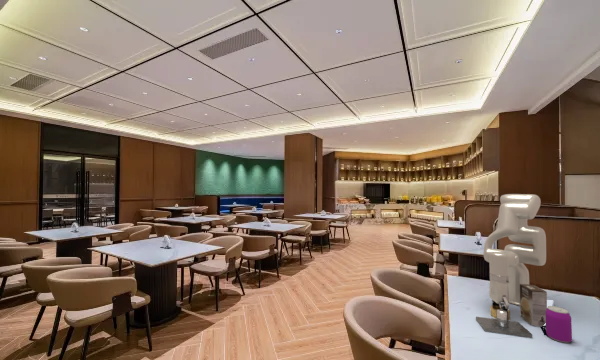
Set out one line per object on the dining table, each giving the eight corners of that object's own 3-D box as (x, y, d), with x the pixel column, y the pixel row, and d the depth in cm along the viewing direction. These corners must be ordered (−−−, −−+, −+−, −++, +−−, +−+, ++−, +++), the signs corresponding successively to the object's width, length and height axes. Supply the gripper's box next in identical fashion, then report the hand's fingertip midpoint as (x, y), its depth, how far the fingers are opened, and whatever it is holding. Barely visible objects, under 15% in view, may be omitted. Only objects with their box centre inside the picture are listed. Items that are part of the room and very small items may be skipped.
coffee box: (519, 316, 128) (518, 283, 128) (534, 318, 126) (533, 284, 127) (532, 326, 119) (531, 290, 119) (548, 327, 117) (547, 291, 118)
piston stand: (518, 325, 119) (518, 308, 119) (532, 338, 108) (531, 319, 109) (475, 319, 124) (475, 303, 124) (485, 331, 113) (484, 313, 114)
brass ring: (505, 314, 129) (505, 306, 130) (512, 321, 123) (512, 312, 123) (488, 312, 131) (488, 304, 132) (494, 319, 125) (494, 310, 125)
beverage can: (567, 336, 110) (566, 307, 111) (575, 346, 103) (574, 315, 104) (543, 331, 114) (542, 303, 114) (550, 340, 107) (549, 310, 107)
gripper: (483, 272, 137) (484, 306, 136) (498, 282, 121) (499, 322, 120) (500, 273, 135) (500, 308, 134) (517, 284, 119) (518, 324, 118)
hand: (500, 314), depth 127 cm, fingers closed on brass ring, 7 cm apart
